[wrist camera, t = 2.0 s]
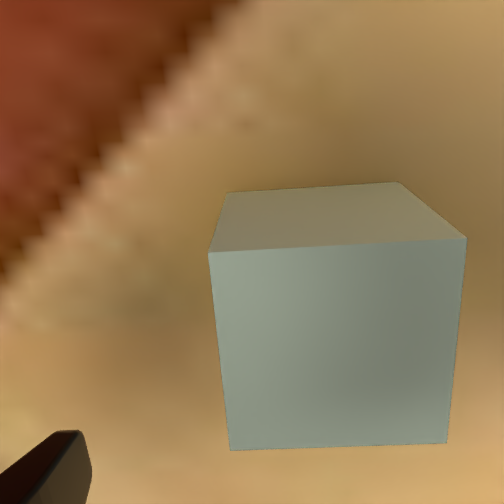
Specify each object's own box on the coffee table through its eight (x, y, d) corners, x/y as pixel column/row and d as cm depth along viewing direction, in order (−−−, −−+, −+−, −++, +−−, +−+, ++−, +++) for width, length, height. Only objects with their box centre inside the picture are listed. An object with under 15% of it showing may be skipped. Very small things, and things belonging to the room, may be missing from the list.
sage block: (391, 330, 15) (446, 443, 11) (240, 337, 16) (229, 450, 11) (397, 181, 14) (467, 238, 9) (227, 191, 14) (207, 252, 9)
